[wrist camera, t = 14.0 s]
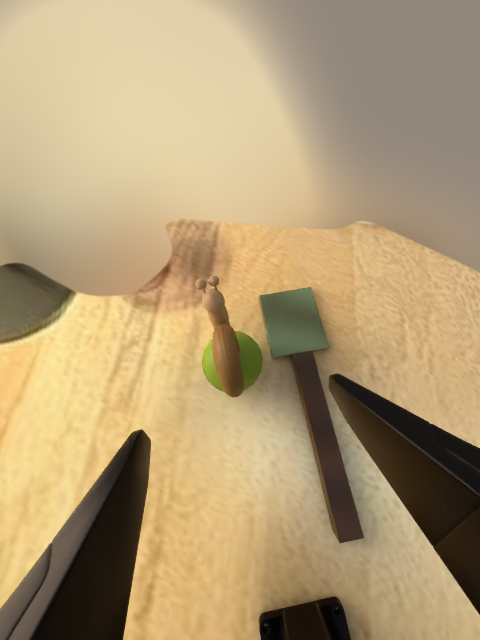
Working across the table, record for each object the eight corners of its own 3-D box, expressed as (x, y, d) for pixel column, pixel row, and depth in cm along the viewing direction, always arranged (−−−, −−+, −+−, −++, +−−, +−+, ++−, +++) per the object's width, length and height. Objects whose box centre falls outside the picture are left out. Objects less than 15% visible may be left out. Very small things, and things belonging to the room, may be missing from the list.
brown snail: (249, 323, 21) (257, 262, 10) (266, 381, 19) (301, 392, 8) (201, 335, 21) (151, 288, 9) (214, 396, 19) (172, 430, 8)
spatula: (378, 521, 16) (388, 533, 15) (310, 536, 16) (315, 549, 15) (308, 289, 22) (312, 284, 21) (258, 297, 22) (259, 293, 21)
